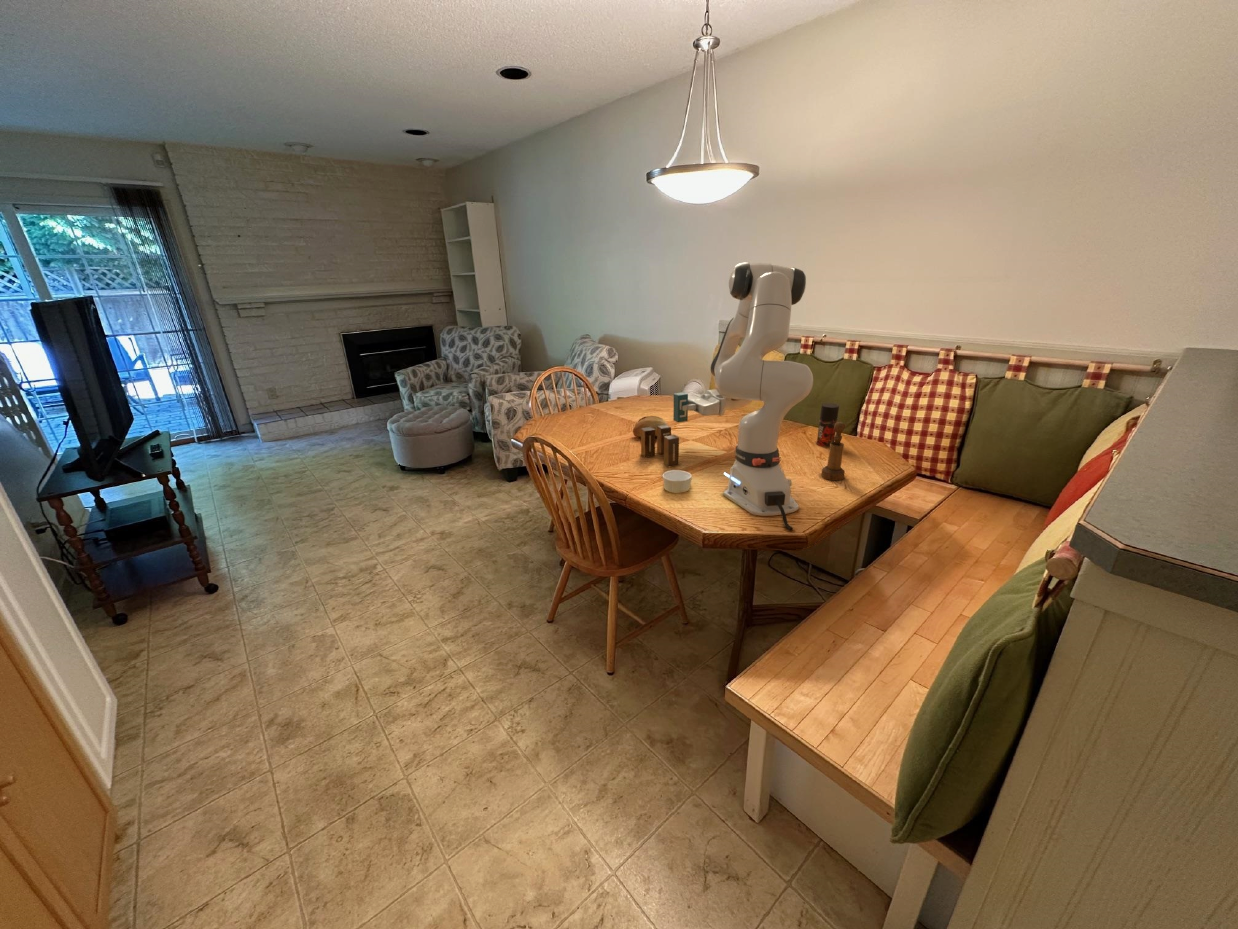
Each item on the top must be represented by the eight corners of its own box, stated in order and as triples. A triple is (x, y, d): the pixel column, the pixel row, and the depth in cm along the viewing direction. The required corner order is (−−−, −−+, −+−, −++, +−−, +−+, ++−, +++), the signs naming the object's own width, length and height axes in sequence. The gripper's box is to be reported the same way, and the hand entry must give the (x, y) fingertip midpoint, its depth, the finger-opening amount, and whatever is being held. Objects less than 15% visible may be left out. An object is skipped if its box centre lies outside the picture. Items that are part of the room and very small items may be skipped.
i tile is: (673, 461, 168) (674, 434, 164) (678, 465, 165) (679, 437, 161) (663, 463, 167) (663, 436, 163) (668, 467, 163) (668, 439, 160)
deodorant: (813, 444, 180) (818, 405, 175) (821, 440, 184) (826, 402, 178) (828, 447, 176) (834, 408, 171) (836, 444, 180) (842, 405, 174)
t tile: (666, 450, 179) (666, 424, 176) (671, 453, 176) (671, 427, 173) (657, 451, 178) (656, 426, 174) (661, 454, 175) (661, 428, 171)
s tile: (683, 418, 177) (683, 392, 173) (687, 421, 174) (688, 394, 170) (673, 420, 176) (673, 393, 172) (678, 422, 172) (678, 395, 169)
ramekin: (656, 488, 148) (656, 475, 146) (676, 480, 153) (676, 467, 151) (677, 496, 141) (677, 483, 140) (697, 488, 147) (697, 475, 145)
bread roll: (631, 433, 199) (630, 415, 196) (666, 431, 201) (666, 412, 198) (634, 440, 190) (634, 421, 188) (671, 438, 192) (671, 419, 189)
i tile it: (650, 452, 177) (650, 426, 174) (655, 455, 174) (655, 429, 170) (641, 454, 176) (640, 428, 172) (645, 457, 173) (644, 431, 169)
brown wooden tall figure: (836, 472, 155) (843, 418, 148) (848, 479, 149) (856, 424, 142) (817, 473, 154) (824, 420, 147) (828, 481, 148) (836, 426, 141)
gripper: (697, 387, 185) (665, 391, 180) (727, 399, 167) (692, 404, 162) (697, 403, 187) (665, 408, 182) (726, 416, 169) (692, 421, 165)
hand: (678, 406), depth 172 cm, fingers closed on s tile, 4 cm apart
